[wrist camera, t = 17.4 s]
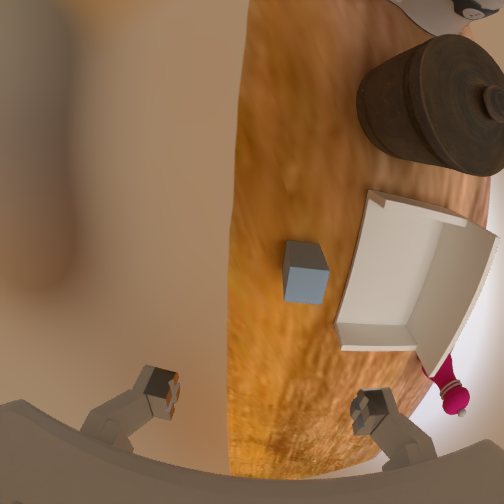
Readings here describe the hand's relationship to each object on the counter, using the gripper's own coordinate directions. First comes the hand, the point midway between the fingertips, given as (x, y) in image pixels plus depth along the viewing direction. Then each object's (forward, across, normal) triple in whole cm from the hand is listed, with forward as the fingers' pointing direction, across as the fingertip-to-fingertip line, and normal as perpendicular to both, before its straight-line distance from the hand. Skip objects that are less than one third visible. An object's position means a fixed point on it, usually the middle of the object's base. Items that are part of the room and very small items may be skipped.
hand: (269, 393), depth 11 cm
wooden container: (+31, -17, -18) cm, 40 cm away
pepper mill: (+31, -40, +26) cm, 57 cm away
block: (+31, -5, +7) cm, 32 cm away
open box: (+31, -22, +7) cm, 39 cm away
